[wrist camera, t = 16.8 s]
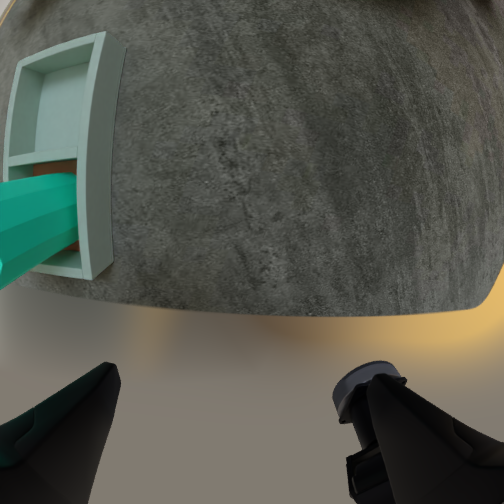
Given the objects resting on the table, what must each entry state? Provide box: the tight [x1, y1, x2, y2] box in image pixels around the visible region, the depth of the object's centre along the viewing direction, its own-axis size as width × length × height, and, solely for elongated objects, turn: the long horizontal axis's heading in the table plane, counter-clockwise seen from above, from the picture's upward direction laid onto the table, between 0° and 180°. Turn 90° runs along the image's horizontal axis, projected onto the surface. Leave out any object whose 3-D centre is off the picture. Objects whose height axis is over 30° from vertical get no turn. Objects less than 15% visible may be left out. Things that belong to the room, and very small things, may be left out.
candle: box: [0, 172, 79, 290], centre depth 12 cm, size 6×6×12 cm
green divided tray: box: [3, 31, 126, 280], centre depth 15 cm, size 9×17×4 cm, turn 175°
